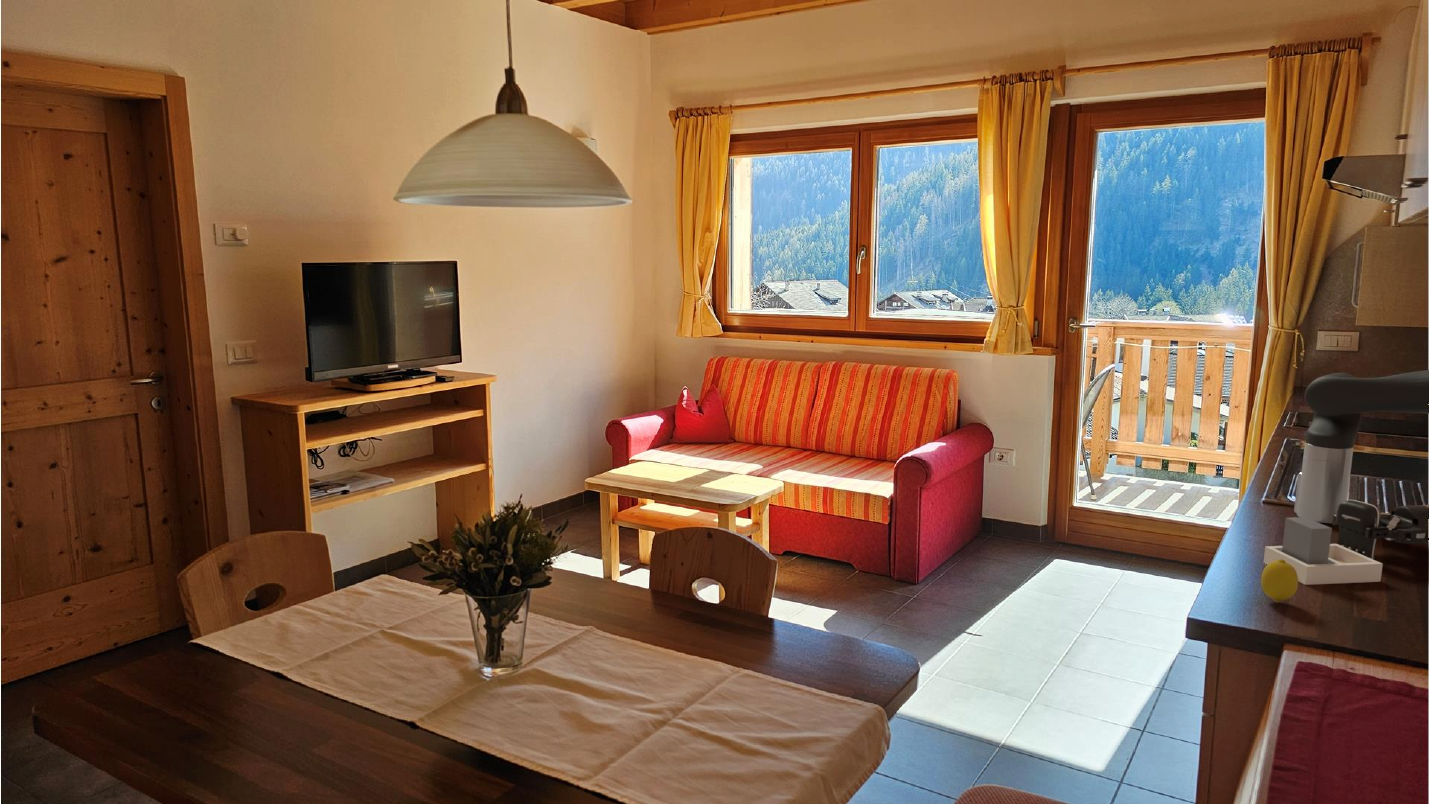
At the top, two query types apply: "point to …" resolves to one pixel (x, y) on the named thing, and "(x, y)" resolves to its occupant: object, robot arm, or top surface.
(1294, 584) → the lemon
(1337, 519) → the battery charger
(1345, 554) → the dock
